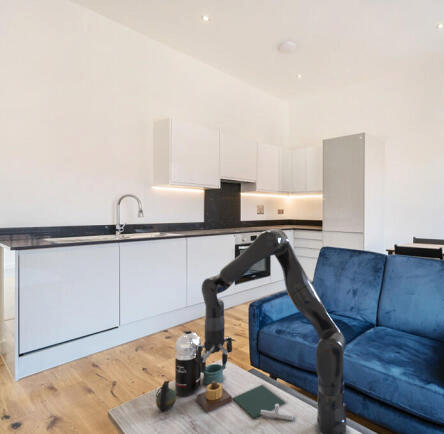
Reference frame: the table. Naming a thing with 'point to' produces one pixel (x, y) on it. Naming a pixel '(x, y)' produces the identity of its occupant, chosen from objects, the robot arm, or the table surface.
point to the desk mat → (258, 401)
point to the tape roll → (213, 392)
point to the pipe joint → (276, 413)
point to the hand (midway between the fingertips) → (214, 367)
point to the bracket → (213, 373)
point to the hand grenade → (165, 397)
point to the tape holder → (213, 404)
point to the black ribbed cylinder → (187, 364)
